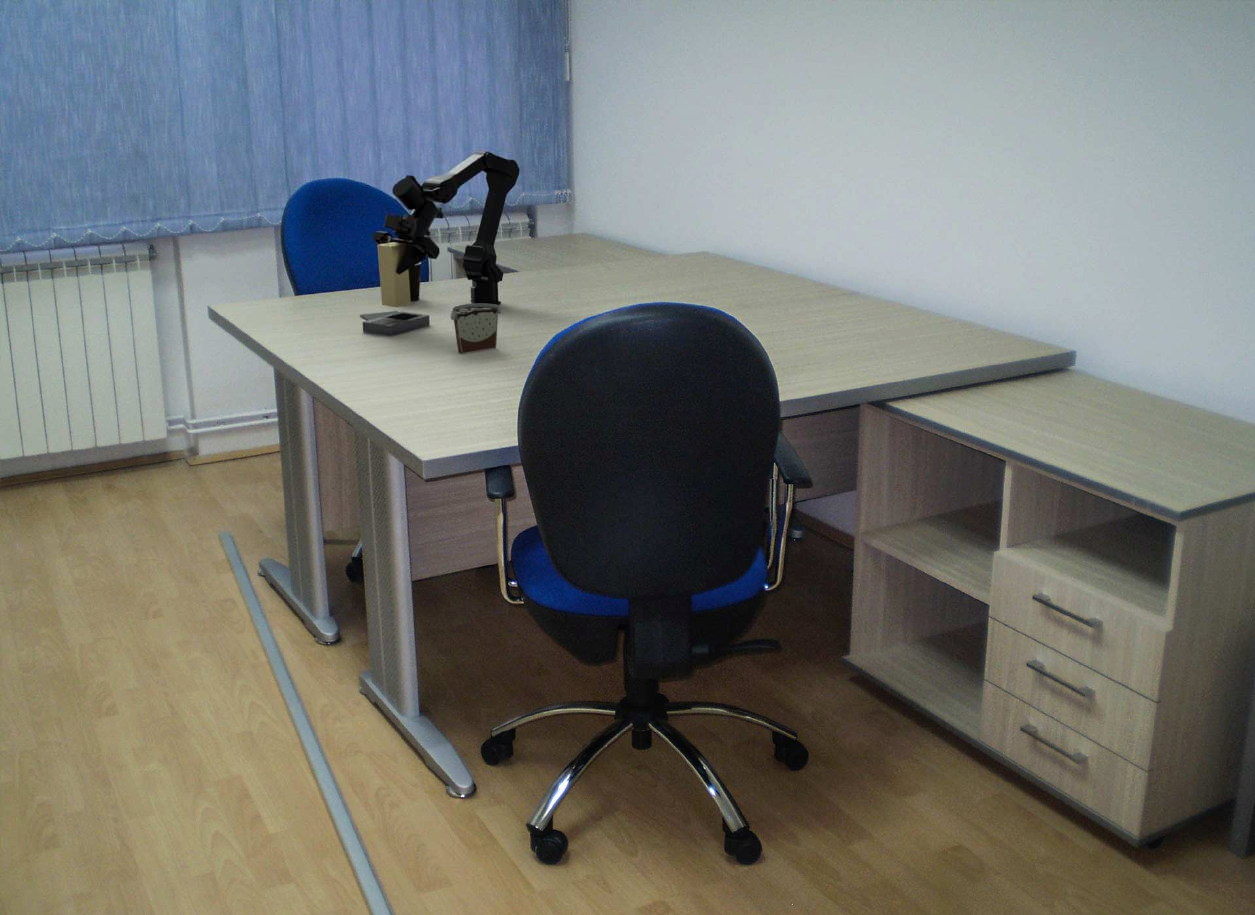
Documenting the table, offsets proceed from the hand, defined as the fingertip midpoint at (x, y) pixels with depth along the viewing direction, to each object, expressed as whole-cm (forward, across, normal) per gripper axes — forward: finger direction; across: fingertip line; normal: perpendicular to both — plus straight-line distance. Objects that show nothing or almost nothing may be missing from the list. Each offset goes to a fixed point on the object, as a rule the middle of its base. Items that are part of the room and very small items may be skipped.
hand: (390, 272), depth 314 cm
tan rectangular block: (+5, 0, +7) cm, 8 cm away
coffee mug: (-9, -21, +28) cm, 36 cm away
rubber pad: (+6, -8, +13) cm, 16 cm away
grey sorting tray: (+11, +3, +8) cm, 14 cm away
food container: (+14, +33, +4) cm, 36 cm away
